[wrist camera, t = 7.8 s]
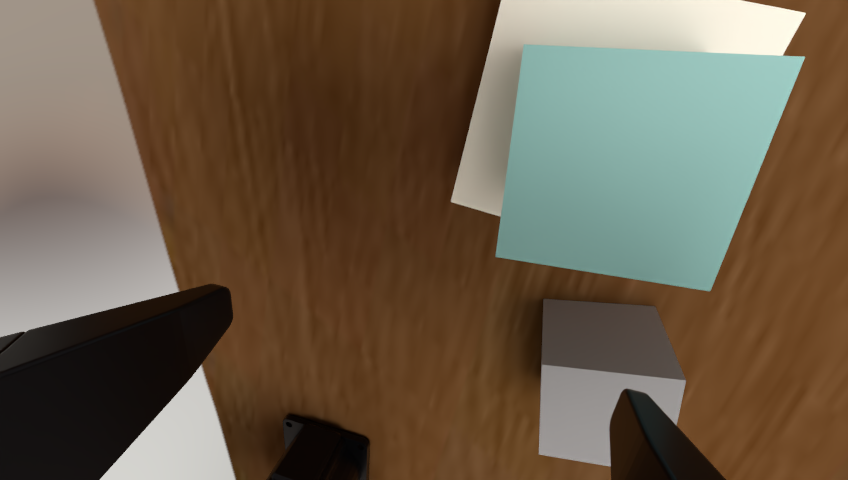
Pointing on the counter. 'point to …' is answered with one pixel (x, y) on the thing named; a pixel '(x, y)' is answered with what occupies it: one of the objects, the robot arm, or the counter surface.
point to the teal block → (637, 158)
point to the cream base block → (601, 28)
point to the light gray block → (600, 373)
